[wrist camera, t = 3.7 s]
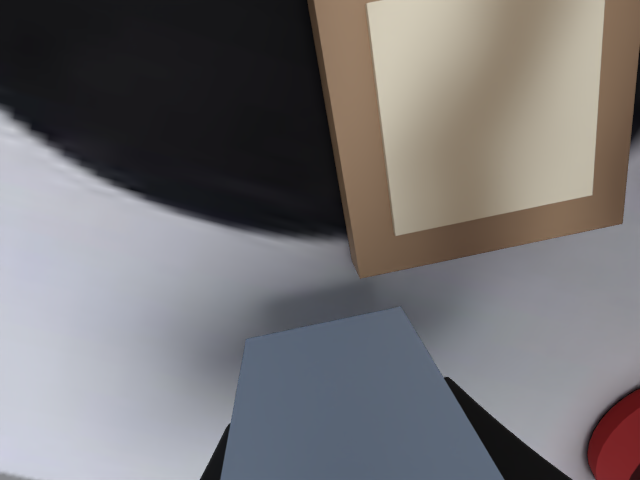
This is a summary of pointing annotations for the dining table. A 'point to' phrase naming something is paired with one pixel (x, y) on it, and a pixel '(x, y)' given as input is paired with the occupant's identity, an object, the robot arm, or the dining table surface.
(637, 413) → the canned food
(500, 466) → the robot arm
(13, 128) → the dining table surface
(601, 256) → the dining table surface
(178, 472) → the dining table surface
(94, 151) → the dining table surface
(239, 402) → the block
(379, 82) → the plinth
